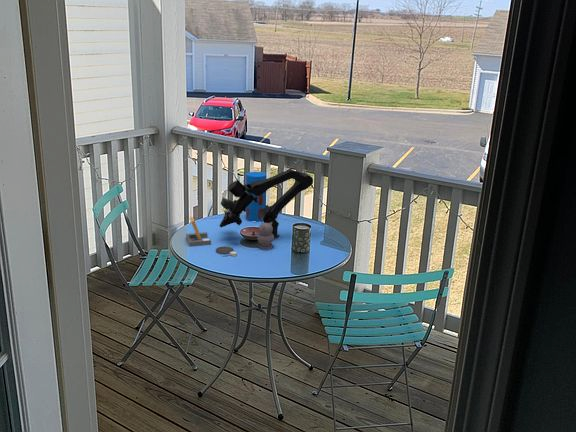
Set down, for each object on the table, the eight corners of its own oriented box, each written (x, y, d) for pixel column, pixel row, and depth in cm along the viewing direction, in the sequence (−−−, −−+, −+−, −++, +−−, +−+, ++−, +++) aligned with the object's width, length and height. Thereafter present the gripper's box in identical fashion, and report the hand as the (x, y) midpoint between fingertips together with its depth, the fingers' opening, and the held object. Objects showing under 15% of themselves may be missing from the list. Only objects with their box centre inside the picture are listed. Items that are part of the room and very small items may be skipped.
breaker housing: (206, 237, 273) (206, 231, 272) (211, 246, 263) (210, 240, 262) (185, 239, 270) (185, 233, 269) (189, 248, 260) (189, 242, 259)
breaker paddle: (200, 236, 269) (192, 216, 265) (202, 241, 264) (194, 220, 259) (197, 237, 269) (189, 217, 264) (199, 242, 264) (191, 222, 259)
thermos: (266, 216, 307) (267, 172, 298) (264, 222, 297) (265, 177, 288) (247, 214, 307) (247, 171, 299) (244, 221, 297) (244, 176, 289)
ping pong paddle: (241, 253, 256) (241, 250, 256) (229, 259, 250) (229, 256, 249) (223, 248, 262) (223, 245, 261) (212, 253, 256) (212, 250, 255)
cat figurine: (263, 242, 271) (264, 219, 267) (277, 245, 267) (277, 222, 263) (253, 247, 264) (253, 224, 260) (267, 251, 260) (268, 227, 256)
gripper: (226, 187, 272) (204, 210, 272) (234, 198, 255) (211, 223, 256) (242, 201, 277) (220, 224, 277) (251, 213, 260) (228, 237, 261)
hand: (220, 226), depth 268 cm, fingers closed
